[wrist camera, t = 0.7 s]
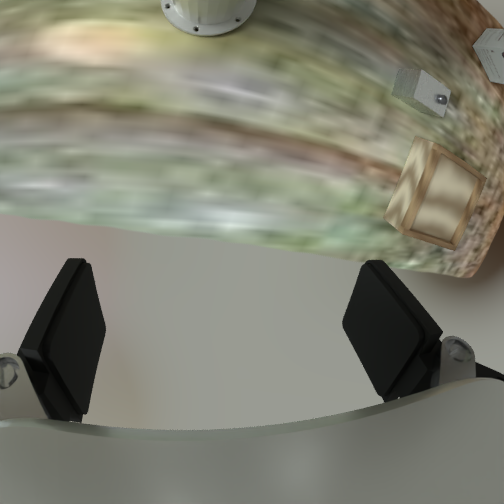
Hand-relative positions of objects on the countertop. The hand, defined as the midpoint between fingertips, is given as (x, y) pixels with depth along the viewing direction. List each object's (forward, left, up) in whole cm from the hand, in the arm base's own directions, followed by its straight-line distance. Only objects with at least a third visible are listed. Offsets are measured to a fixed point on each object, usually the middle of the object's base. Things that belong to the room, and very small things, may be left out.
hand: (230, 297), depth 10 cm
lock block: (-18, +28, -34) cm, 48 cm away
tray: (-3, +40, -34) cm, 53 cm away
